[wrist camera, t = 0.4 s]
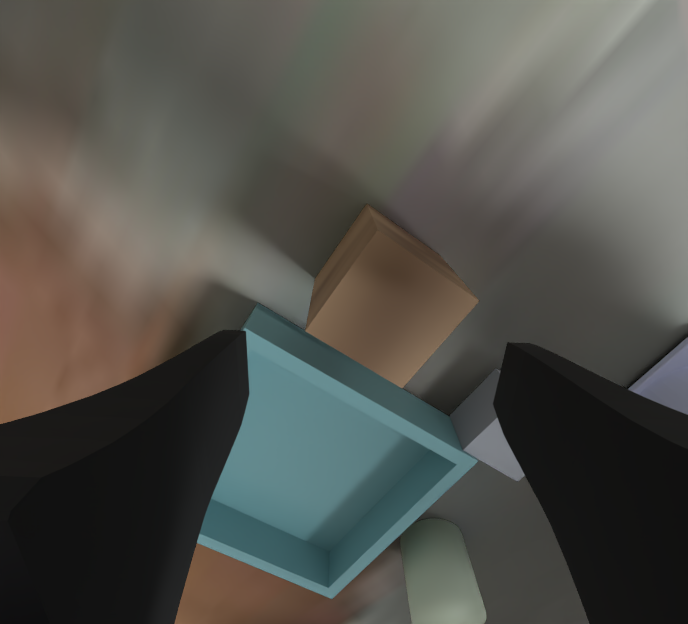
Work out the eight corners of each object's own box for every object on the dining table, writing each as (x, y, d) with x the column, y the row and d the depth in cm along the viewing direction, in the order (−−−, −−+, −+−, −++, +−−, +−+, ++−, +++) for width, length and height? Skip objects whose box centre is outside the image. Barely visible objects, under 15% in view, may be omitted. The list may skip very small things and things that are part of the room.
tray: (462, 424, 24) (478, 461, 21) (332, 554, 28) (331, 598, 25) (257, 302, 20) (244, 327, 18) (149, 471, 25) (125, 512, 22)
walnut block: (440, 255, 19) (479, 300, 14) (386, 323, 21) (402, 388, 15) (366, 203, 18) (377, 229, 13) (315, 278, 20) (305, 331, 14)
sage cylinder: (475, 534, 27) (502, 612, 23) (435, 568, 29) (453, 649, 24) (426, 509, 26) (444, 586, 22) (387, 546, 28) (396, 625, 23)
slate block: (544, 399, 23) (572, 434, 20) (497, 443, 24) (517, 481, 22) (495, 366, 22) (516, 398, 19) (448, 414, 23) (462, 450, 21)
